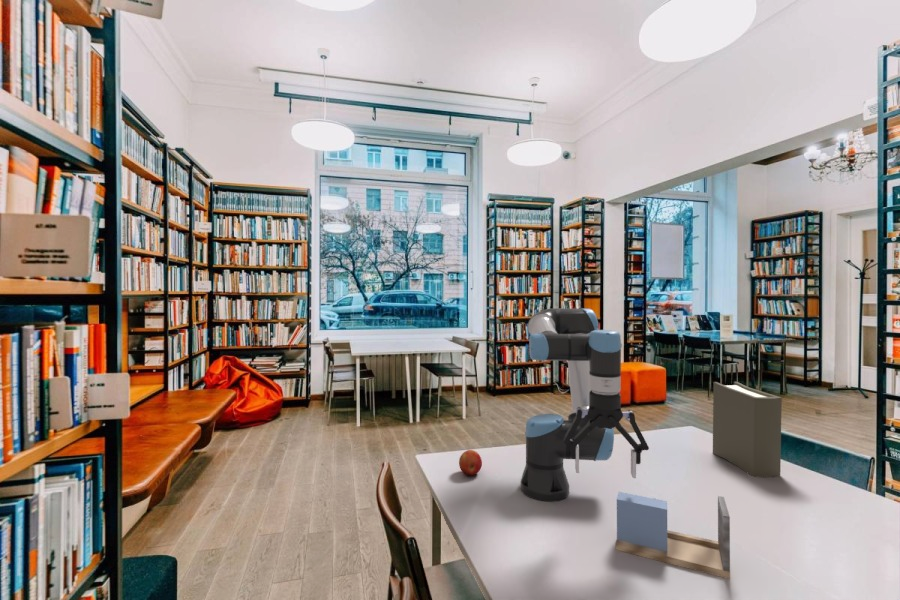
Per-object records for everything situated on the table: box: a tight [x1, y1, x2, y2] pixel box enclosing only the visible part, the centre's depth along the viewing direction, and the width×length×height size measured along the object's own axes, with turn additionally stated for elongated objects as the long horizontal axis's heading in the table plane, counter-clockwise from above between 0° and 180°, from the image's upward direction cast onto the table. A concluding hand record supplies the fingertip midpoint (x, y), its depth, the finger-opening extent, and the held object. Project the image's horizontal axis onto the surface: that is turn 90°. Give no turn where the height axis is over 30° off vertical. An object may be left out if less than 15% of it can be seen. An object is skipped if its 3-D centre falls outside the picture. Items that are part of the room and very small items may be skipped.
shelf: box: [615, 495, 731, 580], centre depth 99 cm, size 23×10×14 cm, turn 62°
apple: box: [458, 449, 483, 477], centre depth 143 cm, size 8×8×8 cm
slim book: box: [616, 491, 668, 552], centre depth 101 cm, size 11×4×10 cm, turn 62°
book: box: [712, 381, 783, 478], centre depth 149 cm, size 22×9×28 cm, turn 2°
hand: (604, 473), depth 105 cm, fingers open, 13 cm apart
